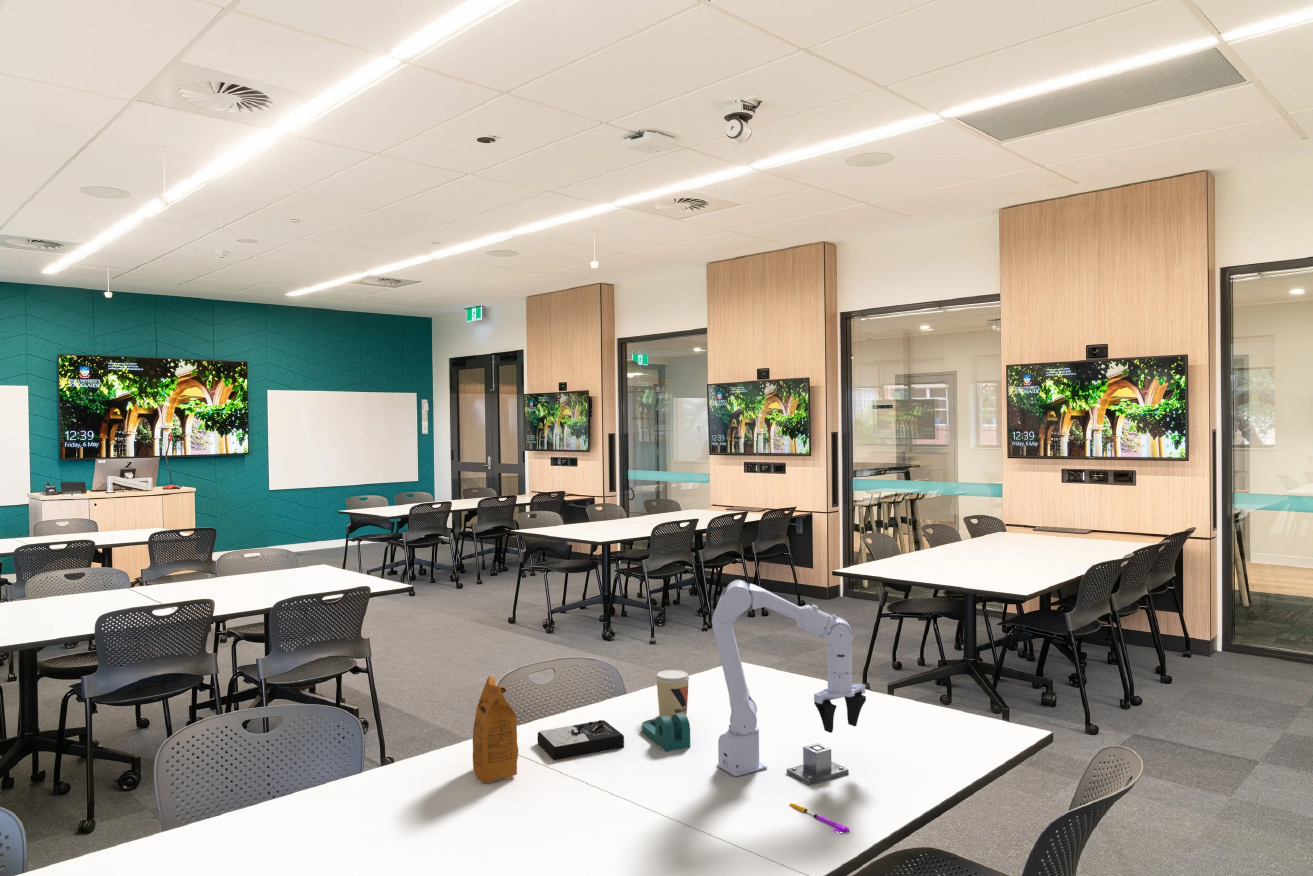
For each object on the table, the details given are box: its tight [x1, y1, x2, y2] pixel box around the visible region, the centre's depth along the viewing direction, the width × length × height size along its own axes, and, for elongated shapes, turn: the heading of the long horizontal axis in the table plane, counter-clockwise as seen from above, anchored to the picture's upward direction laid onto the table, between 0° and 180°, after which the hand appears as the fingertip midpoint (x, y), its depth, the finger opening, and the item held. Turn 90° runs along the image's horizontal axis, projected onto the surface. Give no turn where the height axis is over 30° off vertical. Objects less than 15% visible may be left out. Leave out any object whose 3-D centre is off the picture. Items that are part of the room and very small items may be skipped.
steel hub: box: [802, 742, 832, 775], centre depth 197 cm, size 5×5×5 cm
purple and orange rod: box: [788, 803, 851, 833], centre depth 174 cm, size 3×1×16 cm
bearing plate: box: [786, 746, 850, 786], centre depth 197 cm, size 12×8×6 cm, turn 121°
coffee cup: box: [655, 669, 690, 718], centre depth 238 cm, size 9×9×12 cm
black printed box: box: [536, 719, 625, 761], centre depth 217 cm, size 13×19×5 cm
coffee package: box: [472, 675, 519, 784], centre depth 199 cm, size 10×12×22 cm
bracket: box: [641, 713, 691, 753], centre depth 221 cm, size 18×7×8 cm, turn 25°
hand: (840, 728), depth 199 cm, fingers open, 7 cm apart
